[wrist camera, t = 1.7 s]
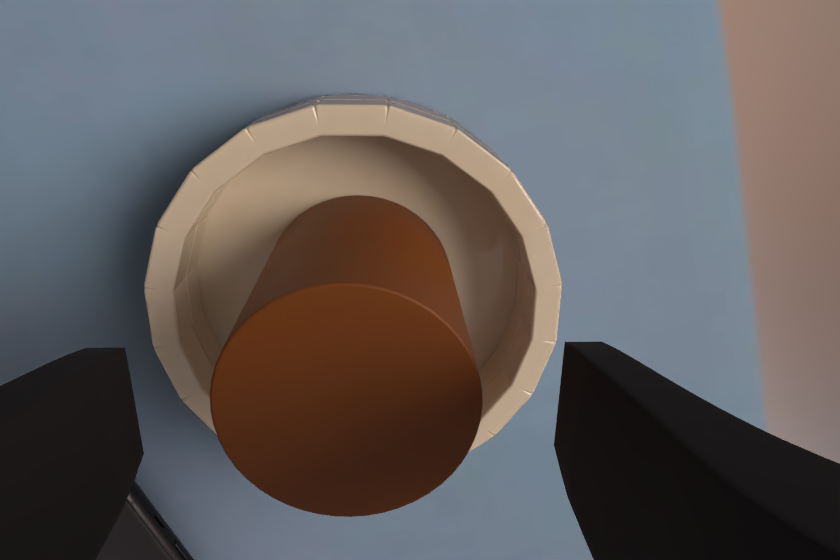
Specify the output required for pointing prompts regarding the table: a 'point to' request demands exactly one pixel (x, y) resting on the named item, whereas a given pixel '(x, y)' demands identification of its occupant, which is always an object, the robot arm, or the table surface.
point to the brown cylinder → (349, 364)
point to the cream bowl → (347, 176)
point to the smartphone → (141, 533)
